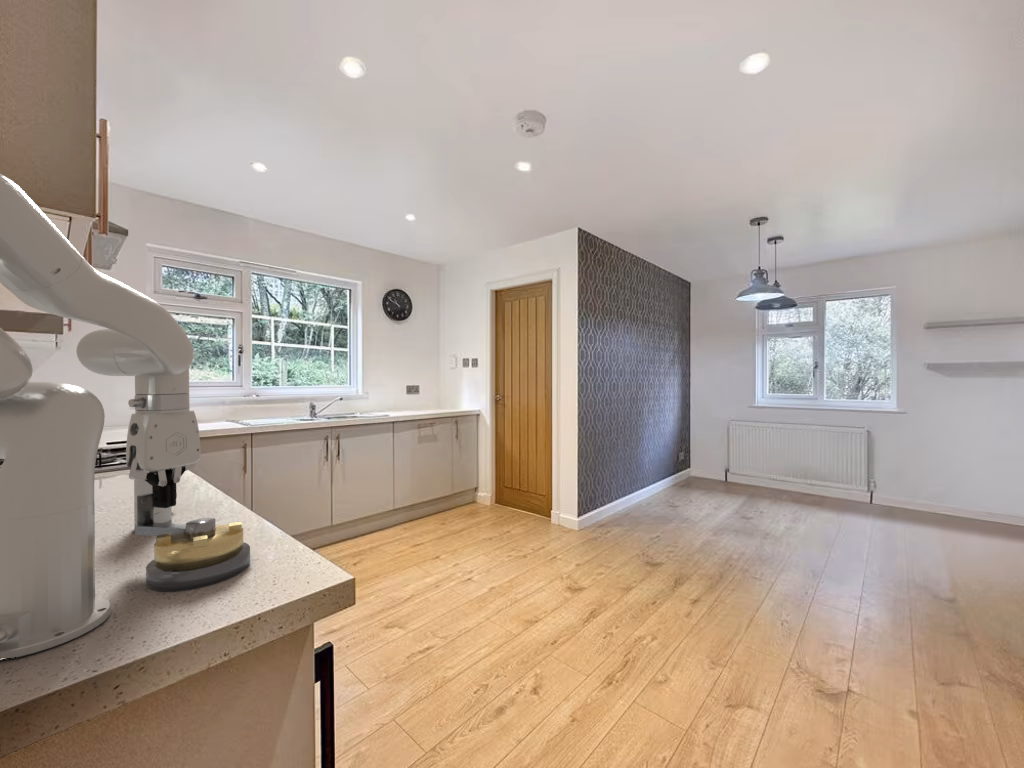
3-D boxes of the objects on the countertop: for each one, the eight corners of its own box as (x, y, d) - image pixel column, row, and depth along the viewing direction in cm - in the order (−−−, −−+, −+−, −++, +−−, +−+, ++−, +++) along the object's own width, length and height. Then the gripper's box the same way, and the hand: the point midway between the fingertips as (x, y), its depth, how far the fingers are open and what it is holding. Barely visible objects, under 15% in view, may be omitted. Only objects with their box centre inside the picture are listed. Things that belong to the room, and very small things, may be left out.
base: (215, 590, 65) (215, 574, 65) (121, 592, 64) (121, 575, 64) (266, 553, 79) (266, 540, 79) (189, 554, 78) (189, 541, 78)
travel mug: (151, 532, 90) (150, 438, 90) (126, 530, 91) (126, 437, 91) (180, 523, 96) (179, 434, 96) (156, 521, 97) (155, 433, 97)
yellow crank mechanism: (259, 543, 76) (259, 490, 76) (200, 572, 64) (199, 510, 64) (173, 537, 79) (173, 486, 79) (101, 564, 67) (101, 504, 67)
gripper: (133, 407, 68) (135, 521, 68) (218, 402, 82) (219, 496, 83) (98, 406, 70) (100, 518, 70) (187, 401, 84) (188, 494, 85)
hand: (164, 506), depth 76 cm, fingers closed
